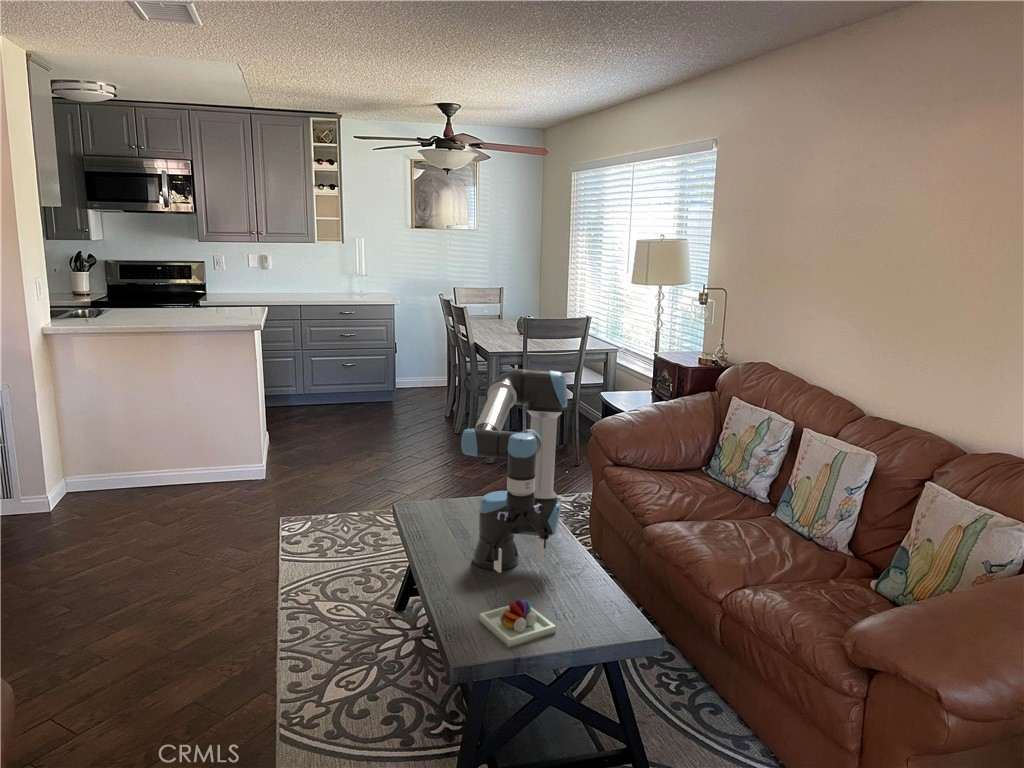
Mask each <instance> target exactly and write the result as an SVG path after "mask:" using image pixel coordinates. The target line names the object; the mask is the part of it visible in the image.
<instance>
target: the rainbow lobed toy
mask: <svg viewBox="0 0 1024 768" xmlns="http://www.w3.org/2000/svg"><path fill="white" fill-rule="evenodd" d="M531 607H532V605H531V603H530V602H529V601H528V600H523V599H521V598H518V599H516V600H515V601H514V602H510V603H509V608H510V610H503V611H502V612H501V613H500V616H499V619H500V621H501V623H502V624H504V626H506V627H508V628H513V627H514V630H515V631H516V632H521V631H523V630H524V629H525V627H526V626H533V625H534V624H535V623H536V620H537V617H536V615H535V613H534V612H532V611H531Z"/></svg>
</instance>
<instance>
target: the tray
mask: <svg viewBox="0 0 1024 768" xmlns="http://www.w3.org/2000/svg"><path fill="white" fill-rule="evenodd" d="M503 610H510V608H509V605H505V606H502V607H498V608H495V609H492V610H488V611H485V612H481V613H478V615H479V617H478V619H479V622H480V623H482V624H483V626H485V627H486V628H487V629H488V630H489V631H490V632H491V633H493V634H494V635H495V636H496V638H498V639H499V640H500V641H501V642H502V643H503V644H505V646H507V647H508V648H512V647H515V646H518V645H521V644H525V643H527V642H531V641H535V640H537V639H540V638H542V637H546V636H547V637H548V636H549V635H552V634H556V631H557V629H556V627H557V626H556V625H555V624H554V623H553V622H551V621H550V620H549V619H548V618H546V617H545V616H544V615H542V614H541V613H540V612H539V611H538V610H536V609H535V608H534V607H532V606H531V611H532V612H534V613H535V615H536V617H537V620H536V623H535V624H534V625H533V626H526V627H525V629H524V630H523V631H521V632H516V631H515V630H514V627H513V628H508V627H506V626H504V624H502V623H501V621H500V619H499V616H500V613H501V612H502V611H503Z"/></svg>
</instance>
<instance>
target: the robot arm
mask: <svg viewBox="0 0 1024 768" xmlns="http://www.w3.org/2000/svg"><path fill="white" fill-rule="evenodd" d="M514 405H521V406H523V405H524V406H526V412H527V413H528V414H529V415H530V429H529V428H528V429H524V430H522V431H507V430H506V431H505V430H503V428H504V425H505V422H506V420H507V417H508V415H509V412H510V409H511V408H512V407H514ZM567 407H568V389H567V381H566V375H565V374H564V373H563V372H561V371H557V370H552V369H551V370H541V369H524V368H522V369H521V368H517V369H513V370H510V371H506V372H505V373H502V374H501V375H500V376H498V377H497V378H496V379H495V380H494V381H492V383H491V384H490V386H489V388H488V390H487V400H486V402H485V404H484V407H483V409H482V411H481V413H480V416H479V418H478V420H477V422H476V424H475V427H474V428H473V427H472V428H466V429H464V430H463V431H462V435H461V442H460V444H461V451H462V453H463V454H464V455H465V456H471V457H472V456H473V457H484V458H486V457H487V458H498V459H507V476H506V477H507V478H506V479H507V480H506V489H507V490H498V491H497V490H496V491H492V492H488V493H486V494H484V495H483V496H482V497H481V498H480V502H479V509H478V512H479V516H478V518H479V522H478V524H479V525H478V527H479V528H478V532H479V533H478V540H477V543H476V546H475V549H474V551H473V559H472V560H473V563H474V565H476V566H477V567H479V568H480V569H481V568H482V569H485V570H490V571H496V572H497V573H502V571H504V570H508V569H511V568H514V567H515V566H517V565H518V564H519V561H520V560H519V551H518V548H517V545H516V542H515V535H523V536H524V535H526V536H535V537H536V538H535V559H536V560H537V561H539V562H542V563H543V562H544V554H545V553H544V549H546V547H547V540H548V539H549V538H550V537H554V536H555V535H556V533H557V528H558V525H559V522H560V516H561V510H562V505H563V504H562V502H561V501H560V500H558V494H556V492H555V491H554V482H555V465H556V464H555V463H556V462H555V461H556V449H557V447H556V445H557V431H558V430H557V427H558V418H559V416H560V415H562V414H563V409H564V408H567Z"/></svg>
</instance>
